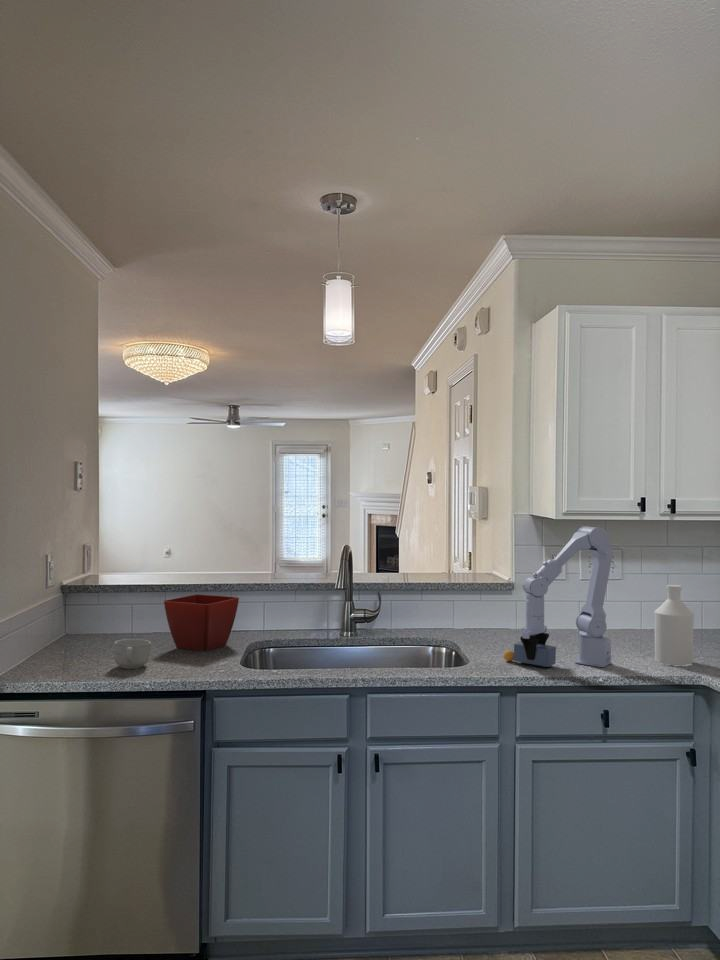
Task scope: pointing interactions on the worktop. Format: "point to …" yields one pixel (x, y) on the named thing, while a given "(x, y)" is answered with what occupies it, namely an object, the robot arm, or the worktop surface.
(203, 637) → the plant pot
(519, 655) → the slate blue block
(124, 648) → the teacup
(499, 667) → the worktop surface
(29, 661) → the worktop surface
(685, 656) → the bottle
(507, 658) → the ball
